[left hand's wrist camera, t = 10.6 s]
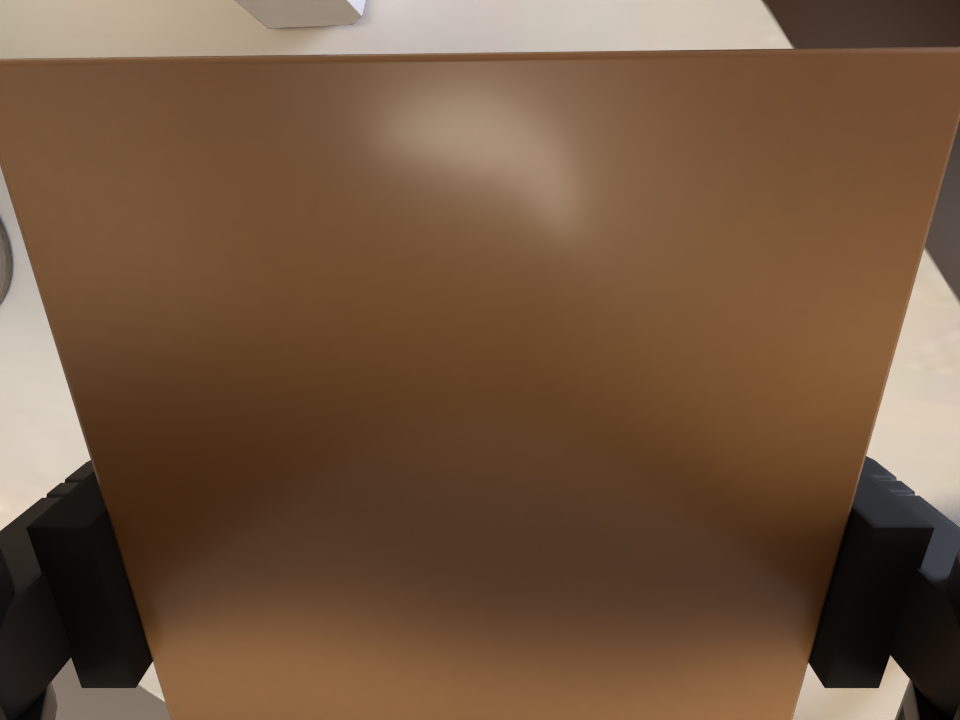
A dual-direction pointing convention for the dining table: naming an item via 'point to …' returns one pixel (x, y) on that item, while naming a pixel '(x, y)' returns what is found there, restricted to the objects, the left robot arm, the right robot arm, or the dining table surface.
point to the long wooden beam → (479, 361)
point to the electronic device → (304, 12)
